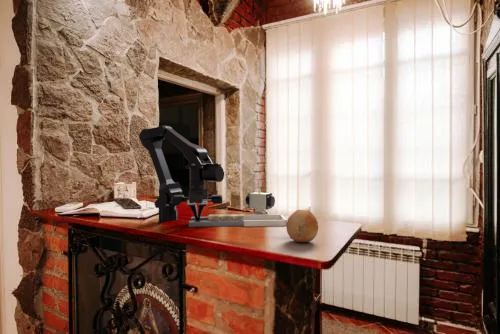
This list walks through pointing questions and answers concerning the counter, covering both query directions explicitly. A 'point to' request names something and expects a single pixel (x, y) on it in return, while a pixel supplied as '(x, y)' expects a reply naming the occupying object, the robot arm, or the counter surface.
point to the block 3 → (237, 216)
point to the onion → (302, 226)
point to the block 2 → (225, 216)
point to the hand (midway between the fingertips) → (197, 222)
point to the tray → (264, 220)
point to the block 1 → (214, 217)
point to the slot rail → (214, 222)
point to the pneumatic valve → (260, 201)
